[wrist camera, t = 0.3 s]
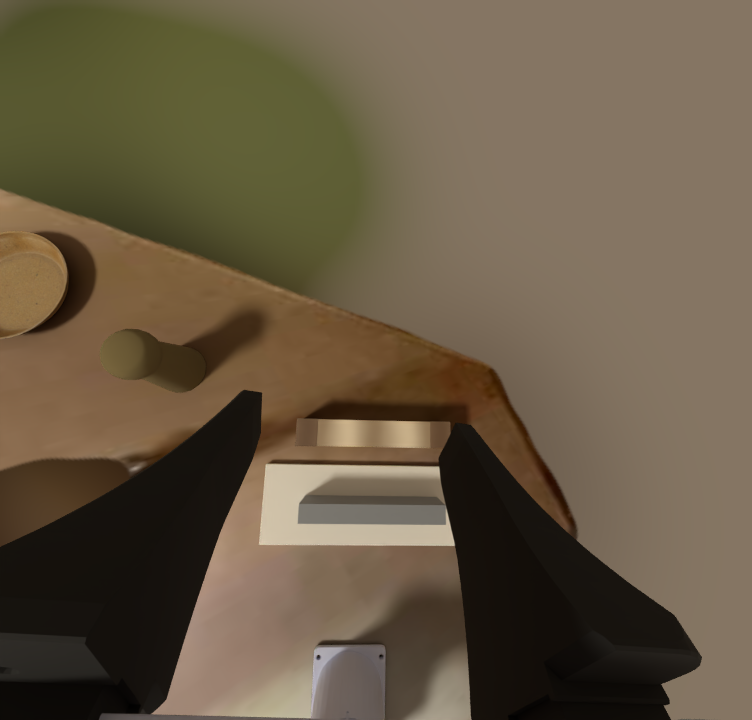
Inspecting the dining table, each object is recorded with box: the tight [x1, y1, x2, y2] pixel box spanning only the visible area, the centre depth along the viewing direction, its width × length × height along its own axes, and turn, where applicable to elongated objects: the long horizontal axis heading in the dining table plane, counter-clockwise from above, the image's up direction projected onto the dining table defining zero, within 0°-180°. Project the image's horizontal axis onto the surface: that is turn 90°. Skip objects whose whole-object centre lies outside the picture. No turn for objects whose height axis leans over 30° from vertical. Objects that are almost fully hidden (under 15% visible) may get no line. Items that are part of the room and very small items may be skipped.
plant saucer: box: [0, 231, 69, 339], centre depth 41 cm, size 15×15×3 cm
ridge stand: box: [259, 463, 455, 546], centre depth 37 cm, size 9×26×5 cm, turn 89°
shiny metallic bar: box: [295, 418, 451, 449], centre depth 39 cm, size 18×3×4 cm, turn 89°
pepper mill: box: [100, 329, 206, 393], centre depth 36 cm, size 6×6×11 cm
